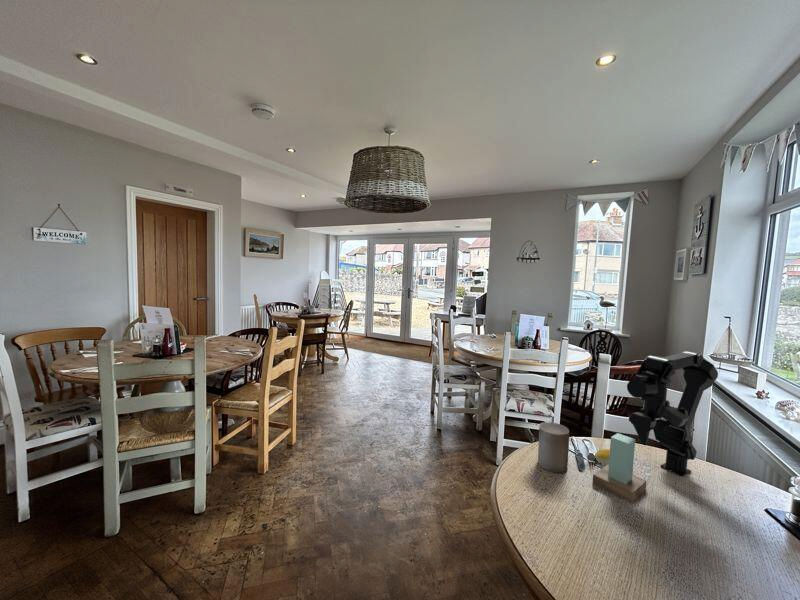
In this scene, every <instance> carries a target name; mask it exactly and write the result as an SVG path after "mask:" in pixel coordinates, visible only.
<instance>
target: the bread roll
mask: <svg viewBox="0 0 800 600" xmlns="http://www.w3.org/2000/svg"><path fill="white" fill-rule="evenodd" d="M594 456H595V458H596V460H597V461H598V462H599V463H601V464H603V465H602V466H603V467H605V466H606V465H608V464H609V456H610V448H608V449H607V448H602V449H599V450H597V451H596V452H595V453H594ZM595 458H594V459H595ZM596 460H595V461H596ZM597 461H596V462H597ZM598 462H597V463H598ZM599 463H598V464H599ZM601 464H600V465H601Z"/></svg>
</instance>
